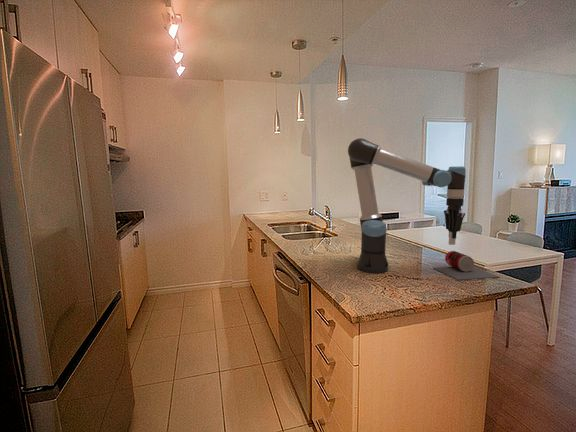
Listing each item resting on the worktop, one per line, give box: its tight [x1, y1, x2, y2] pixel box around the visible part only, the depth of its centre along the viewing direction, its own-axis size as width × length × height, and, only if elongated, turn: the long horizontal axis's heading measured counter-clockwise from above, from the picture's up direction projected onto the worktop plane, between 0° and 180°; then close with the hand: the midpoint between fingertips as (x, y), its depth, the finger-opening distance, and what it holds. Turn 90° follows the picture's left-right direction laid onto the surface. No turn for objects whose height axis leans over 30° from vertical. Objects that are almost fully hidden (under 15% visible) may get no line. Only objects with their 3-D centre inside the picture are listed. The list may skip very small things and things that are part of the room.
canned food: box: [444, 250, 475, 272], centre depth 157 cm, size 8×8×11 cm
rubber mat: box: [432, 265, 500, 282], centre depth 152 cm, size 21×18×1 cm
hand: (451, 244), depth 162 cm, fingers closed
